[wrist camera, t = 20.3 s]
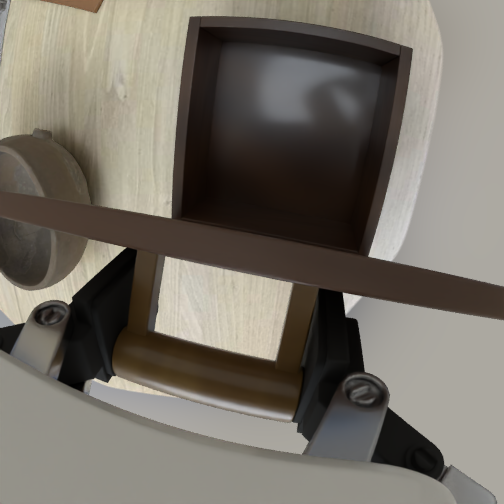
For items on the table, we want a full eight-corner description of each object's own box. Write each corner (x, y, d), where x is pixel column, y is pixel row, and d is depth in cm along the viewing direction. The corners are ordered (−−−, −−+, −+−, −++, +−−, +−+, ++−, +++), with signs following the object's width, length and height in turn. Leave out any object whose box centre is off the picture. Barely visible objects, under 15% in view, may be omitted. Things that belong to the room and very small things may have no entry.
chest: (216, 34, 24) (189, 16, 17) (390, 61, 22) (413, 48, 16) (198, 201, 31) (171, 226, 25) (355, 231, 30) (365, 264, 23)
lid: (-14, 188, 7) (-22, 339, 7) (527, 291, 5) (460, 467, 6) (169, 223, 25) (158, 286, 25) (367, 262, 23) (352, 327, 23)
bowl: (51, 99, 29) (-12, 109, 20) (139, 198, 32) (83, 234, 23) (8, 194, 36) (-40, 219, 27) (78, 279, 40) (35, 319, 31)
